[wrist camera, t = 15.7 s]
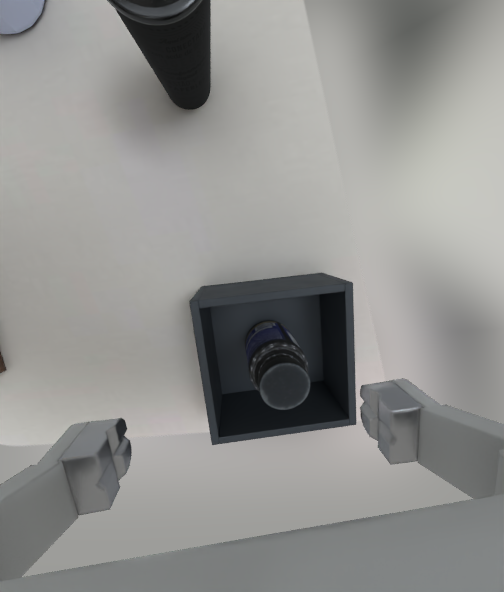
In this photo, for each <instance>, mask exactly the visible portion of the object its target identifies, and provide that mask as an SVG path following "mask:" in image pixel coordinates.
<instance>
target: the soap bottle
mask: <svg viewBox="0 0 504 592" xmlns="http://www.w3.org/2000/svg"><path fill="white" fill-rule="evenodd" d="M44 2H45V0H0V33H1V34H14V33H20V32H22V31H24V30H26V29H27V28H29V27H31V26H32V25H33V24H34V23H35V21H36V20H37V19H38V17H39V16H40V15H41V13H42V9H43V5H44Z"/></svg>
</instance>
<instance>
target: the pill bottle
mask: <svg viewBox="0 0 504 592" xmlns="http://www.w3.org/2000/svg"><path fill="white" fill-rule="evenodd" d="M245 347H246V354H247V362H248V369H249V376H250V380H251V382H252V383H253V385H254V387H255V388H256V389H257V390H258V391H259V392H260V395H261V397H262V399H263V400H264V402H265V403H266V404H267V405H269V406H270V407H273V408H275V409H280V410H287V409H291V408H294V407H296V406H298V405H300V404H301V403H302V402H303V401H304V400H305V399H306V397H307V396H308V393H309V390H310V378H309V375H308V361H307V359H306V356H305V354H304V353H303V351H302V350H301V348H300V347H299V345H298V344H297V342H296V341H295V339H294V338H293V336H292V335H291V333H290V332H289V330H288V329H287V328H286V327H285V326H284V325H283V324H281V323H279V322H276V321H272V320H268V321H262V322H260V323H258V324H256V325H254V326H253V327H252V328H251V329H250V331H249V332H248V334H247V336H246V340H245Z"/></svg>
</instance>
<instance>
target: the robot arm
mask: <svg viewBox="0 0 504 592" xmlns="http://www.w3.org/2000/svg"><path fill="white" fill-rule="evenodd" d="M360 396H361V398H362V399H363V400H364V403H363V404H362V406H361V407H360V409H361V419H362V422H363V426H364V427H365V430H366V431H367V433H368V434H369V436H370V437H372V438H373V439H375V440H377V441H378V448H379V450H380V451H381V452H382V454H383V455H384V456H385V458H386V459H387V460H388V462H389V463H390V464H399V463H407V462H415V461H418V463H419V464H421V465H422V466H424V467H425V468H427V469H429V470H430V471H432V472H433V473H435V474H436V475H438V476H439V477H441V478H442V479H444V480H445V481H447V482H449V483H450V484H452V485H453V486H455V487H456V488H458V489H459V490H461V491H463V492H464V493H466V494H467V495H469V496H470V497H472V498H473V499H471V500H466V501H460V502H454V503H449V504H443V505H437V506H432V507H426V508H420V509H415V510H409V511H403V512H397V513H392V514H385V515H379V516H374V517H368V518H362V519H356V520H350V521H344V522H338V523H333V524H327V525H321V526H316V527H310V528H303V529H297V530H292V531H286V532H280V533H274V534H269V535H263V536H257V537H252V538H246V539H240V540H235V541H229V542H223V543H217V544H211V545H205V546H200V547H194V548H188V549H182V550H177V551H171V552H165V553H159V554H153V555H148V556H142V557H136V558H130V559H125V560H119V561H113V562H107V563H101V564H96V565H90V566H84V567H78V568H72V569H67V570H61V571H55V572H49V573H44V574H38V575H32V576H26V577H22V575H24V574H25V573H26V572H27V570H28V569H29V568H30V567H31V566H32V565H33V564H34V563H35V562H36V561H37V560H38V559H39V558H40V557H41V556H42V555H43V554H44V553H45V552H46V551H47V550H48V548H50V546H51V545H52V544H53V543H54V542H55V541H56V540H57V539H58V538H59V537H60V536H61V535H62V534H63V533H64V532H65V531H66V530H67V529H68V528H69V527H70V525H72V524H73V522H74V521H75V520H76V519H77V518H78V515H83V514H88V513H93V512H99V511H104V510H109V509H110V508H111V506H112V504H113V501H114V499H115V497H116V495H117V493H118V491H119V488H120V485H119V482H118V481H119V480H120V479H121V478H122V477H123V476H124V475H125V474H126V473H127V470H128V468H129V466H130V460H131V444H130V440H128V439H127V438H126V437H125V436H124V434H125V432H126V430H127V427H126V423H125V420H124V419H122V418H118V419H109V420H100V421H92V422H84V423H77V424H74V425H71V426H70V427H69V428H68V429H67V431H66V432H65V433H64V434H63V435H62V436H61V437H60V439H59V440H58V441H57V442H56V443H55V444H54V445H53V447H52V448H51V449H50V450H49V451H48V452H47V453H46V455H45V456H44V457H43V458H42V459H41V460H40V462H38V464H37V465H31V466H29V467H28V468H26V469H24V470H23V471H21V472H20V473H18V474H16V475H15V476H13V477H12V478H10V479H8V480H7V481H5V482H4V483H2V484H0V592H504V424H502V423H499V422H496V421H493V420H490V419H486V418H484V417H480V416H478V415H475V414H472V413H469V412H466V411H463V410H459V409H457V408H454V407H451V406H448V405H440V404H439V403H437V402H436V401H435V400H433V399H432V398H431V397H429V396H428V395H426V393H424V392H423V391H422V390H420V389H419V388H418V387H416V386H415V385H414V384H412V383H411V382H410V381H408V380H407V379H403V378H402V379H396V380H391V381H386V382H380V383H373V384H367V385H362V386H361V389H360Z"/></svg>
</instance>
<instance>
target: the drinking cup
mask: <svg viewBox="0 0 504 592" xmlns="http://www.w3.org/2000/svg"><path fill="white" fill-rule="evenodd" d="M107 1H108V2H109V3H110V4H111V5H112V6H113V7H114V8H115V9H116V11H117V12H118V14H119V16H120V17H121V19H122V21H123V22H124V24H125V25H126V27H127V29H128V30H129V32H130V33H131V35H132V37H133V38H134V40H135V42H136V43H137V45H138V46H139V48H140V50H141V51H142V53H143V55H144V56H145V58H146V59H147V61H148V63H149V64H150V66H151V68H152V69H153V71H154V72H155V74H156V76H157V77H158V79H159V80H160V82H161V84H162V85H163V87H164V89H165V90H166V92H167V93H168V95H169V97H170V98H171V100H172V101H173V102H174V103H175V104H176V105H178V106H179V107H181V108H184V109H196V108H198V107H200V106H202V105H203V104H204V103H205V102H206V100H207V98H208V96H209V93H210V0H107Z"/></svg>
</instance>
